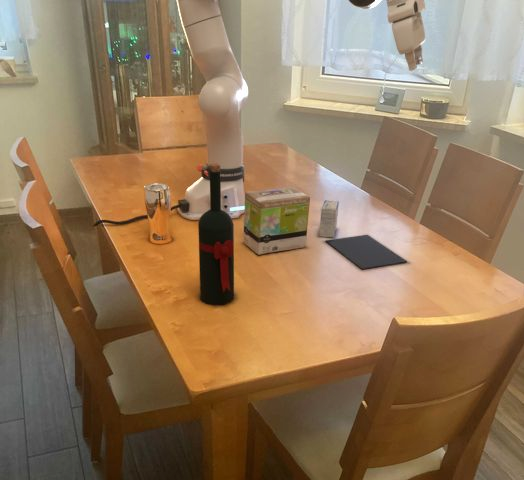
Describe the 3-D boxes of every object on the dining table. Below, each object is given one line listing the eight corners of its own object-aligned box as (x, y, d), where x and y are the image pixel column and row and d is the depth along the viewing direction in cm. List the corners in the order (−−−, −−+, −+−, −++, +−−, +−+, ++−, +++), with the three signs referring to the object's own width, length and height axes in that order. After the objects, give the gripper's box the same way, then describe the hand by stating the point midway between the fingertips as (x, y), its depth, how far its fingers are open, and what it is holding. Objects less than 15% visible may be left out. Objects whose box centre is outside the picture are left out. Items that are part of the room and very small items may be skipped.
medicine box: (333, 238, 158) (337, 209, 154) (318, 236, 159) (321, 207, 154) (336, 228, 165) (339, 200, 160) (321, 227, 166) (324, 199, 161)
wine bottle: (210, 312, 120) (207, 174, 103) (195, 292, 127) (189, 161, 111) (243, 306, 123) (245, 171, 106) (226, 287, 130) (225, 158, 114)
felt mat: (361, 270, 141) (362, 268, 141) (325, 241, 156) (325, 240, 156) (406, 262, 145) (407, 261, 145) (367, 236, 161) (367, 234, 161)
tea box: (259, 256, 146) (260, 202, 138) (242, 243, 153) (243, 191, 145) (306, 247, 152) (311, 195, 144) (289, 235, 159) (292, 184, 151)
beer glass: (177, 237, 155) (174, 184, 147) (166, 246, 150) (162, 192, 142) (155, 233, 157) (151, 181, 149) (143, 242, 152) (138, 188, 143)
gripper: (401, 9, 147) (411, 64, 153) (385, 16, 132) (397, 77, 138) (425, 0, 144) (434, 57, 150) (411, 7, 129) (422, 69, 135)
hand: (416, 66), depth 144 cm, fingers open, 8 cm apart
